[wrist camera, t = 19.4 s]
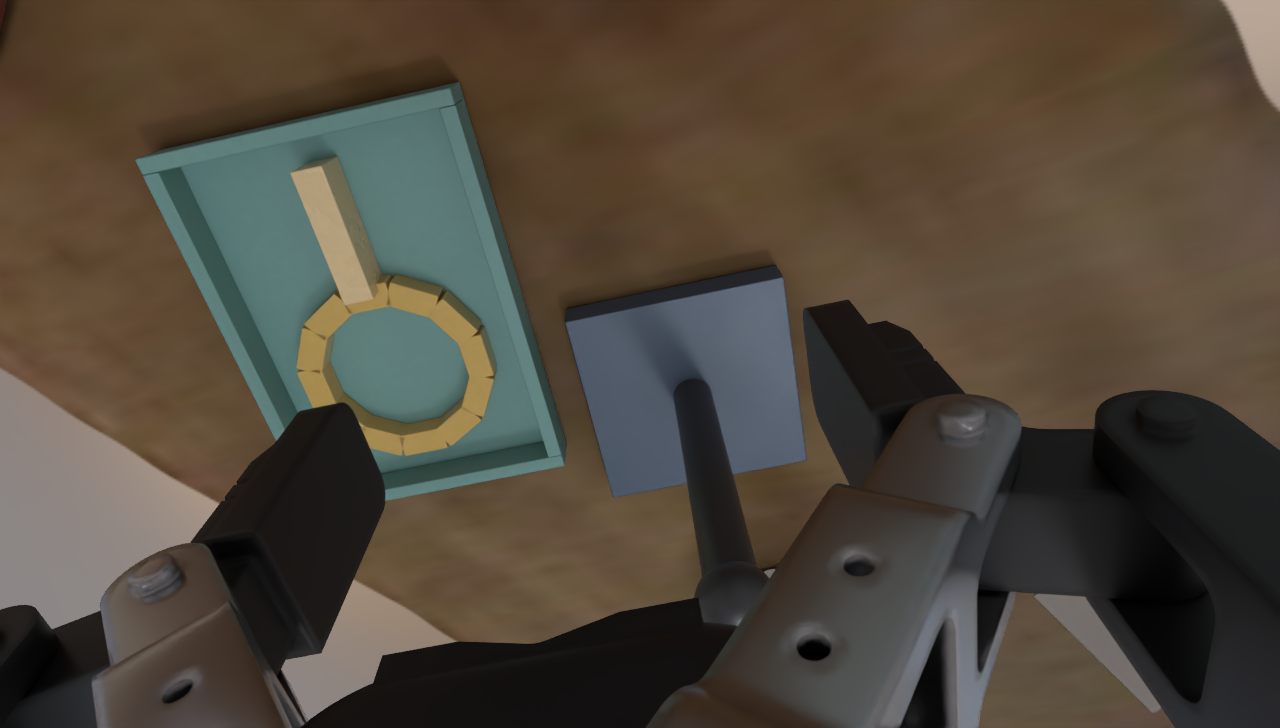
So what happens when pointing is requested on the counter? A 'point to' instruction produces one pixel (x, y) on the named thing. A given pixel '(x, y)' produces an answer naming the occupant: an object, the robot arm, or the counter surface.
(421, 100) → the key tray
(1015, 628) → the counter surface
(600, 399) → the key stand
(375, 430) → the ring
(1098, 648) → the platform
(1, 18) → the snack package
